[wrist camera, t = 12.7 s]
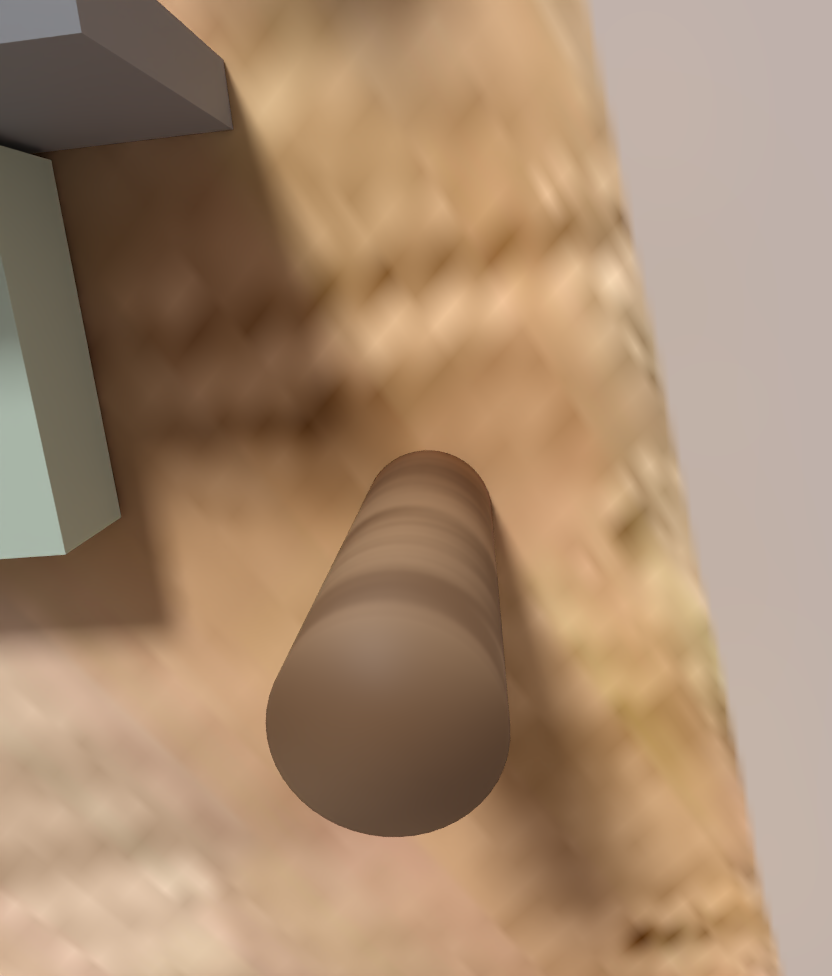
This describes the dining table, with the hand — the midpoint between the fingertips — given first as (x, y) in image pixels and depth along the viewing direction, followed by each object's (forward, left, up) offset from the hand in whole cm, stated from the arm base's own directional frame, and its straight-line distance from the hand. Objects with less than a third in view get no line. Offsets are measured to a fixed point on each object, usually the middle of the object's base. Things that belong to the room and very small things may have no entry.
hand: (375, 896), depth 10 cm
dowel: (0, 0, -18) cm, 18 cm away
